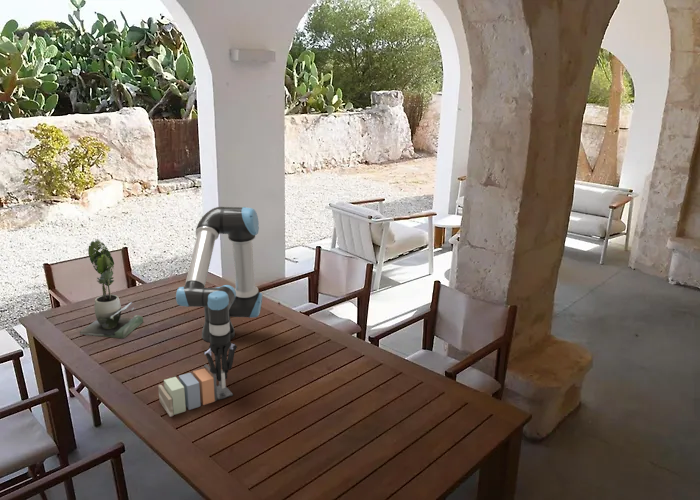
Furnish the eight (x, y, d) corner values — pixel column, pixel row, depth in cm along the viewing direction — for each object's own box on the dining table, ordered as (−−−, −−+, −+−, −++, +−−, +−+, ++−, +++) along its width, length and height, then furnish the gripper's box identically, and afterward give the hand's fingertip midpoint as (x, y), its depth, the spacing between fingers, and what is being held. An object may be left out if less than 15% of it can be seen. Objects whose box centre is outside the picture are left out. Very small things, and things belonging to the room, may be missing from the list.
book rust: (205, 390, 225) (204, 368, 222) (214, 401, 218) (213, 378, 215) (194, 394, 222) (193, 371, 219) (203, 405, 215) (202, 381, 212)
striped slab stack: (204, 387, 227) (204, 372, 225) (216, 401, 218) (216, 385, 216) (159, 401, 217) (158, 385, 215) (170, 416, 208) (168, 399, 205)
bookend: (223, 385, 229) (222, 359, 225) (233, 395, 222) (232, 369, 218) (205, 390, 225) (204, 364, 221) (214, 401, 218) (213, 374, 214)
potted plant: (143, 321, 283) (135, 234, 270) (123, 338, 265) (114, 246, 252) (102, 318, 286) (92, 231, 272) (79, 334, 268) (68, 242, 255)
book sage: (177, 399, 218) (175, 376, 215) (185, 411, 211) (184, 387, 208) (165, 403, 216) (163, 379, 213) (173, 414, 209) (172, 390, 206)
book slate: (191, 395, 222) (190, 372, 218) (200, 406, 215) (199, 382, 212) (180, 398, 219) (178, 375, 216) (189, 410, 212) (187, 386, 209)
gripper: (231, 324, 223) (233, 377, 230) (199, 332, 215) (202, 387, 222) (239, 331, 217) (241, 386, 224) (207, 339, 210) (210, 396, 217)
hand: (222, 386), depth 223 cm, fingers closed
